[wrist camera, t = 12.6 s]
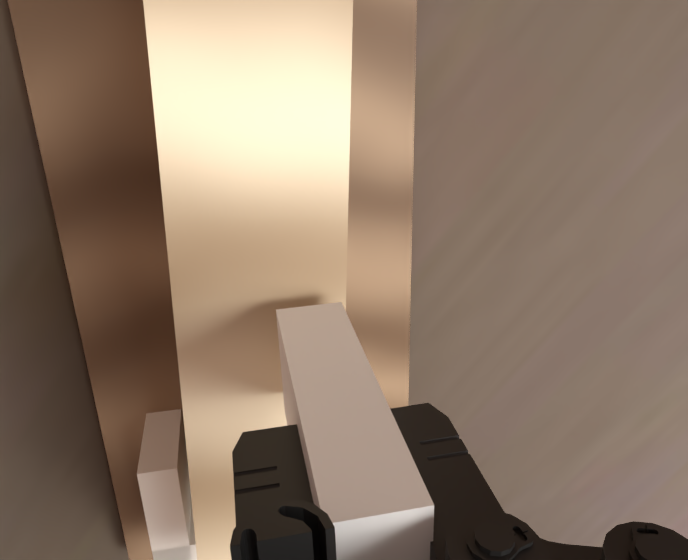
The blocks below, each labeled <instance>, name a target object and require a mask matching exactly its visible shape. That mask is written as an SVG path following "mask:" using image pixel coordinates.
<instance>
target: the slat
mask: <svg viewBox="0 0 688 560" xmlns="http://www.w3.org/2000/svg"><path fill="white" fill-rule="evenodd" d="M143 5H144V15H145V25H146V36H147V46H148V56H149V67H150V77H151V87H152V98H153V108H154V118H155V129H156V139H157V149H158V160H159V170H160V180H161V191H162V201H163V211H164V222H165V232H166V242H167V253H168V263H169V273H170V284H171V294H172V304H173V315H174V325H175V335H176V346H177V356H178V367H179V377H180V387H181V398H182V408H183V418H184V429H185V439H186V449H187V460H188V470H189V480H190V491H191V501H192V511H193V522H194V532H195V542H196V553H197V560H232V559H231V552H230V543H231V538H232V533H233V530H234V528H235V527H236V517H235V498H234V495H235V494H234V478H233V477H234V475H233V459H232V451H233V449H234V447H235V446H236V444H237V442H238V440H239V438H240V436H241V434H242V433H243V432H247V431H254V430H261V429H267V428H274V427H281V426H287V420H286V415H285V409H284V397H283V386H282V374H281V363H280V351H279V340H278V328H277V317H276V309H285V308H294V307H302V306H311V305H319V304H328V303H337V302H342V305H343V307H344V309H345V311H346V282H347V240H348V198H349V155H350V113H351V71H352V29H353V0H143Z"/></svg>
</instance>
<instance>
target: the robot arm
mask: <svg viewBox="0 0 688 560" xmlns="http://www.w3.org/2000/svg"><path fill="white" fill-rule="evenodd" d="M276 317H277V328H278V340H279V351H280V363H281V374H282V386H283V397H284V409H285V415H286V420H287V426H281V427H274V428H267V429H261V430H254V431H247V432H243V433H242V434H241V436H240V438H239V440H238V442H237V444H236V446H235V447H234V449H233V451H232V459H233V475H234V477H233V478H234V494H235V495H234V498H235V517H236V527H235V528H234V530H233V533H232V538H231V543H230V552H231V559H232V560H688V539H686V538H685V537H683V536H681V535H680V534H678V533H677V532H675V531H673V530H671V529H668V528H665V527H662V526H659V525H656V524H653V523H644V522H629V523H625V524H620V525H617V526H616V527H614V528H613V529H612V530H611V531H609V532H608V533H607V534H606V537H605V540H604V544H603V547H591V546H580V545H569V544H561V543H555V542H549V541H546V540H543V539H541V538H539V536H538V535H537V534H536V533H535V532H534V531H533V530H532V529H531V528H530V527H529V526H528V524H526V523H525V522H523V521H521V520H519V519H518V518H516V517H514V516H512V515H510V514H506V513H505V512H504V511H503V509H502V508H501V506H500V504H499V503H498V501H497V499H496V497H495V496H494V494H493V492H492V491H491V489H490V487H489V486H488V484H487V482H486V481H485V479H484V477H483V475H482V474H481V472H480V470H479V469H478V467H477V465H476V464H475V462H474V460H473V459H472V457H471V455H470V454H468V450H467V448H466V447H465V445H464V443H463V442H462V440H461V439H459V435H458V433H457V431H456V430H455V428H454V426H453V425H452V423H451V421H450V420H449V418H448V417H447V416H446V415H444V414H443V413H442V412H440V411H439V410H437V409H436V408H435V407H433V406H432V405H430V404H429V403H425V404H418V405H411V406H404V407H397V408H391V409H390V407H389V405H388V403H387V401H386V399H385V396H384V394H383V392H382V390H381V388H380V386H379V383H378V381H377V379H376V377H375V375H374V372H373V370H372V368H371V366H370V364H369V361H368V359H367V357H366V355H365V353H364V351H363V348H362V346H361V344H360V342H359V340H358V337H357V335H356V333H355V331H354V329H353V326H352V324H351V322H350V320H349V318H348V316H347V313H346V311H345V309H344V307H343V305H342V302H337V303H328V304H319V305H311V306H302V307H294V308H285V309H276Z"/></svg>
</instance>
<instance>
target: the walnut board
mask: <svg viewBox="0 0 688 560" xmlns="http://www.w3.org/2000/svg"><path fill="white" fill-rule="evenodd" d="M8 5H9V9H10V14H11V19H12V23H13V28H14V32H15V37H16V42H17V46H18V51H19V55H20V60H21V64H22V69H23V74H24V78H25V83H26V87H27V92H28V97H29V101H30V106H31V110H32V115H33V120H34V124H35V129H36V133H37V138H38V143H39V147H40V152H41V156H42V161H43V165H44V170H45V175H46V179H47V184H48V188H49V193H50V198H51V202H52V207H53V211H54V216H55V221H56V225H57V230H58V234H59V239H60V244H61V248H62V253H63V257H64V262H65V267H66V271H67V276H68V280H69V285H70V289H71V294H72V299H73V303H74V308H75V312H76V317H77V322H78V326H79V331H80V335H81V340H82V345H83V349H84V354H85V358H86V363H87V368H88V372H89V377H90V381H91V386H92V390H93V395H94V400H95V404H96V409H97V413H98V418H99V423H100V427H101V432H102V436H103V441H104V446H105V450H106V455H107V459H108V464H109V469H110V473H111V478H112V482H113V487H114V491H115V496H116V501H117V505H118V510H119V514H120V519H121V524H122V528H123V533H124V537H125V542H126V547H127V551H128V556H129V560H151V559H153V554H152V549H151V544H150V539H149V534H148V529H147V524H146V519H145V514H144V508H143V503H142V498H141V493H140V488H139V483H138V478H137V469H138V463H139V457H140V450H141V444H142V438H143V431H144V425H145V419H146V413H154V412H162V411H170V410H177V409H181V411H182V418H183V408H182V398H181V387H180V377H179V367H178V356H177V346H176V335H175V325H174V315H173V304H172V294H171V284H170V273H169V263H168V253H167V242H166V232H165V222H164V211H163V201H162V191H161V180H160V170H159V160H158V149H157V139H156V129H155V118H154V108H153V98H152V87H151V77H150V67H149V56H148V46H147V36H146V25H145V15H144V5H143V0H8ZM416 18H417V0H353V29H352V71H351V113H350V155H349V198H348V240H347V282H346V313H347V316H348V318H349V320H350V322H351V324H352V326H353V329H354V331H355V333H356V335H357V337H358V340H359V342H360V344H361V346H362V348H363V351H364V353H365V355H366V357H367V359H368V361H369V364H370V366H371V368H372V370H373V372H374V375H375V377H376V379H377V381H378V383H379V386H380V388H381V390H382V392H383V394H384V396H385V399H386V401H387V403H388V405H389V407H390V409H391V408H397V407H404V406H408V391H409V344H410V298H411V251H412V205H413V158H414V111H415V65H416ZM183 424H184V418H183ZM184 431H185V429H184Z"/></svg>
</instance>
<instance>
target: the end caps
mask: <svg viewBox="0 0 688 560" xmlns="http://www.w3.org/2000/svg"><path fill="white" fill-rule="evenodd" d="M137 478H138V483H139V488H140V493H141V498H142V503H143V508H144V514H145V519H146V524H147V529H148V534H149V539H150V544H151V549H152V554H153V559H154V560H197V553H196V542H195V532H194V522H193V511H192V501H191V491H190V480H189V470H188V460H187V449H186V439H185V431H184V424H183V418H182V411H181V409H177V410H170V411H162V412H154V413H146V419H145V425H144V431H143V438H142V444H141V450H140V457H139V463H138V469H137Z"/></svg>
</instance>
